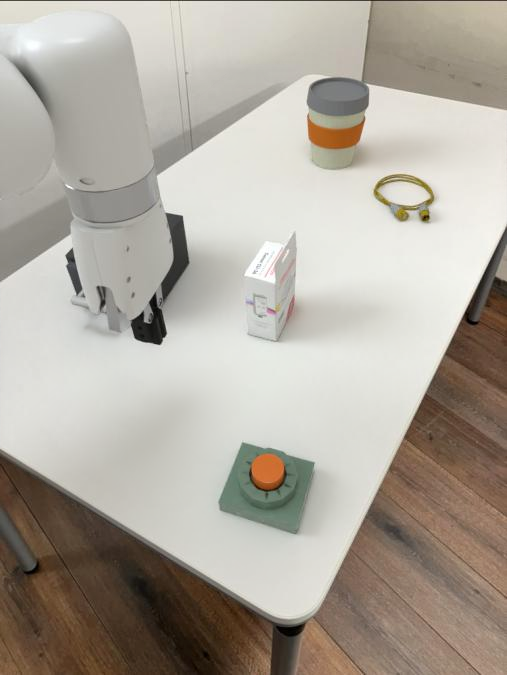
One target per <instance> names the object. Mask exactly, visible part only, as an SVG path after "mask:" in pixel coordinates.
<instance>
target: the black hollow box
mask: <svg viewBox="0 0 507 675" xmlns="http://www.w3.org/2000/svg"><path fill="white" fill-rule="evenodd" d="M165 214H166V217H167V221H168V226H169V230H170V235H171V240H172V247H173V262H172V265H171V267H170V269H169V271H168V273H167V274H166V276H165V278H164V279H163V281H162V283H161V288H162V297H163V303H164V302H165V301H166V299H167V297H168V296H169V295H170V293H171V291H173V288H174V287H175V285H176V284H177V282H178V281H179V280H180V278H181V276H182V275H183V273H184V272H185V270H186V269H187V267H188V266H189V264H190V256H189V250H188V243H187V242H188V241H187V235H186V228H185V220H184V216H183V215H181V214H177V213H175V214H174V213H171V212H170V213H169V212H165ZM64 257H65V259H66V262H67V264H68V263H69V262H70V261H72V262H75V257H74V251H73V246H72V247H71V248H70V249H69V251H68V252H67V253H66V254H65V255H64Z"/></svg>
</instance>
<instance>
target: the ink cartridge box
mask: <svg viewBox="0 0 507 675" xmlns="http://www.w3.org/2000/svg"><path fill="white" fill-rule="evenodd" d="M296 234H297V233H296V231H295V230H293V231H292V232H291V234H290V236H289V238H288V240H287V242H286V243H285V244H283V243H278V242H274V241H269V240H265V241H264V243H263V244H262V246H261V247H260V249H259V251H258V252H257V253H256V255H255V257H254V259H253V260H252V261H251V263H250V264H249V266H248V268H246V270H245V272H244V274H243V278H244V279H243V280H244V282H243V283H244V294H245V295H244V296H245V312H246V326H247V335H249V336H253V337H257V338H261V339H265V340H268V341H272V342H277V341H278V339H279V338H280V335H281V333H282V332H283V329H284V327H285V325H286V323H287V322H288V320H289V317H290V315H291V313H292V311H293V308H294V307H295V295H296V294H295V293H296V277H297V276H296V274H297V273H296V272H297V255H298V254H297V252H298V247H297V235H296Z"/></svg>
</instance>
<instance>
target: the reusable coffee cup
mask: <svg viewBox="0 0 507 675" xmlns="http://www.w3.org/2000/svg"><path fill="white" fill-rule="evenodd" d="M307 90H308V91H307V96H306V106H307V107H308V113H307V115H306V121H307V137H308V140H309V142H310V152H311V154H310V155H311V162H312V163H313V164H314V165H315V166H317V167H319V168H322V169H326V170H341V169H345V168H347V167H349V166H350V165H351V164H352V163H353V160H354V156H355V152H356V148H357V144H358V143H359V142H360V140H361V138H362V134H363V130H364V126H365V123H366V116H365V115H366V111H367V109H368V107H369V104H370V87H369V86H368V84H366V83H365V82H363V81H362V80H358V79H355V78H351V77H341V76H331V77H324V78H320V79H317V80H315V81H313V82H311V83H310V84H309V86H308V89H307Z"/></svg>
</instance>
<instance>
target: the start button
mask: <svg viewBox="0 0 507 675" xmlns="http://www.w3.org/2000/svg"><path fill="white" fill-rule="evenodd" d="M251 471H252V480H253V482H254V484H255V485H256V486H257V487H259V488H260V489H263V490H273V489H276V488H277V487H279V486H280V485H281V483H282V482H283V479H284V464H283V462H282V460H281V459H280V458H279V457H277V456H276V455H273V454H262V455H260V456H258V457H257V458H256V459H255V460H254V461H253V463H252V467H251Z"/></svg>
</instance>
